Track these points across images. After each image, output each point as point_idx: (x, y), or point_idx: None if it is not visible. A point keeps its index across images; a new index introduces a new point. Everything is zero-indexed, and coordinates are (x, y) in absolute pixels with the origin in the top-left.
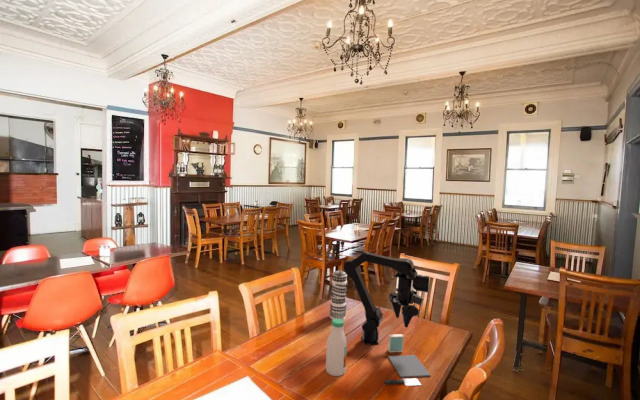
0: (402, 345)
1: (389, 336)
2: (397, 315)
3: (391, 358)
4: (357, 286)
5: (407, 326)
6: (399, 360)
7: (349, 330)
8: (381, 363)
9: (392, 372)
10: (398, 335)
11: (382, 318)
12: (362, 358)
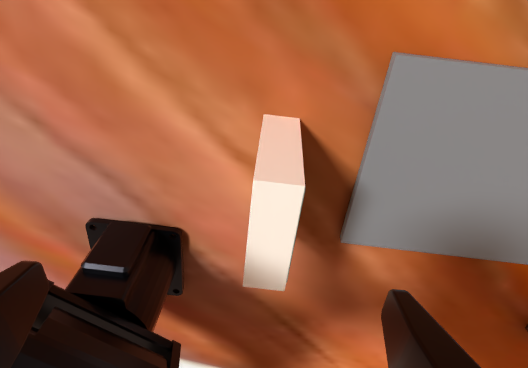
0: (300, 144)
1: (264, 282)
2: (18, 313)
3: (373, 237)
4: None
5: (413, 304)
6: (411, 204)
7: None
8: (382, 285)
9: (480, 273)
10: (274, 221)
11: (33, 348)
12: (312, 335)
